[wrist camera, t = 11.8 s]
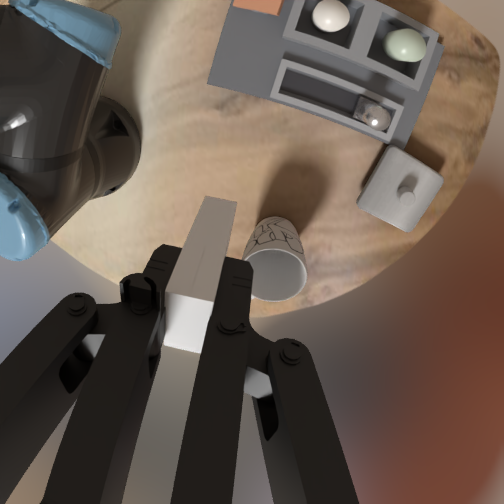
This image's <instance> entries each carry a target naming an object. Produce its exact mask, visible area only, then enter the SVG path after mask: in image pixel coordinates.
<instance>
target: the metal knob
mask: <svg viewBox="0 0 504 504" xmlns="http://www.w3.org/2000/svg"><path fill="white" fill-rule="evenodd" d="M381 106H382V105H380V104H378V103H375V102H373V101H371V100H369V99H366V98H364V97H362V96H359V95H358V98H357V100H356V103H355V106H354V108H353V111H352V113H351V116H352V117H354V118H356V119H359V120H361V121H363V122H365V123H366V124H367V125H369V126H370V127H371V128H372V129H374V130H376V131H382V130H385V129H386V128H387V127H388V126H389V124H390V121H391V118H390V114H389V113H388V111H387V110H386V109H384V108H382V107H381Z"/></svg>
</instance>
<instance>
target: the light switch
mask: <svg viewBox="0 0 504 504" xmlns="http://www.w3.org/2000/svg"><path fill="white" fill-rule="evenodd" d="M443 182H444V179H443V177H442V176H441V175H440V174H439V173H437V172H436V171H434V170H433V169H432V168H430V167H429V166H427V165H425V164H424V163H422V162H421V161H419V160H418V159H416V158H414V157H413V156H411V155H410V154H408V153H406V152H405V151H403V150H401V149H400V148H398V147H396V146H395V145H389V146H387V148H386V150H385V152H384V153H383V155H382V157H381V159H380V160H379V162H378V164H377V166H376V168H375V169H374V171H373V173H372V175H371V176H370V178H369V180H368V181H367V183H366V185H365V187H364V188H363V190H362V192H361V193H360V195H359V197H358V199H357V201H356V203H357V206H358V207H359V208H360V209H362V210H364V211H366V212H368V213H370V214H372V215H374V216H376V217H378V218H380V219H382V220H384V221H386V222H388V223H390V224H392V225H394V226H395V227H397V228H399V229H401V230H403V231H405V232H410V231H412V230H413V229H414V227H415V226H416V224H417V223H418V221H419V220H420V218H421V217H422V215H423V214H424V212H425V211H426V209H427V208H428V206H429V205H430V203H431V202H432V200H433V199H434V197H435V195H436V194H437V192H438V191H439V189H440V187H441V186H442V184H443Z"/></svg>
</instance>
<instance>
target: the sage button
mask: <svg viewBox="0 0 504 504" xmlns="http://www.w3.org/2000/svg"><path fill="white" fill-rule="evenodd" d="M382 46H383V49H384V51H385V53H386V54H387V55H388V56H389V57H390V58H392V59H394V60H397V61H409V62H416V61H419V60H421V59H422V58H423V57H424V55H425V53H426V43H425V41H424V39H423V37H422V36H421V35H420V34H419V33H418V32H417V31H415V30H412V29H401V30H395V31H391V32H388V33H387V34H386V35H385V36H384V38H383V41H382Z"/></svg>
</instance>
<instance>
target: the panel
mask: <svg viewBox="0 0 504 504" xmlns="http://www.w3.org/2000/svg"><path fill="white" fill-rule="evenodd" d="M321 1H323V0H284V3H283V6H282V9H281V12H280V15H279V16H276V15H272V14H268V13H263V12H260V13H258V12H254V11H253V10H249V9H243V8H238V7H235V6H233V2H234V0H232V1H231V4H230V7H229V10H228V13H227V16H226V20H225V23H224V26H223V29H222V32H221V36H220V39H219V43H218V46H217V49H216V53H215V56H214V60H213V63H212V67H211V71H210V74H209V78H208V82H207V84H209V85H213V86H218V87H222V88H226V89H230V90H234V91H238V92H242V93H245V94H249V95H253V96H256V97H260V98H263V99H267V100H270V101H274V102H277V103H280V104H283V105H286V106H290V107H293V108H296V109H299V110H302V111H305V112H308V113H311V114H313V115H316V116H319V117H322V118H325V119H327V120H330V121H333V122H335V123H338V124H341V125H343V126H346V127H348V128H351V129H353V130H356V131H358V132H361V133H363V134H365V135H368V136H370V137H373V138H375V139H377V140H379V141H382V142H384V143H386V144H388V145H395V146H396V147H398V148H400V149H401V150H403V151H404V148H405V146H406V144H407V142H408V139H409V137H410V135H411V132H412V130H413V128H414V125H415V123H416V121H417V118H418V116H419V113H420V111H421V108H422V106H423V104H424V101H425V99H426V96H427V93H428V91H429V88H430V86H431V83H432V80H433V78H434V75H435V72H436V70H437V67H438V64H439V61H440V59H441V56H442V53H443V50H444V47H445V46H443V45H441V44H440V43H438V42H437V40H438V37H439V33H437V32H435V31H434V30H432V29H430V28H429V27H427V26H425V25H423V24H422V23H420V22H418V21H416V20H414V19H412V18H411V17H409V16H407V15H405V14H403V13H401V12H399V11H397V10H395V9H393V8H391V7H389V6H387V5H385V4H383V3H380V2H378V1H376V0H337V1H340V2H341V3H343V4H344V5H345V6H346V7H347V9H348V11H349V14H350V19H349V22H348V24H347V25H346V26H345V27H344V28H342V29H340V30H338V31H336V32H333V33H324V32H321V31H319V30H317V29H316V28H315V27H314V25H313V24H312V21H311V14H312V12H313V10H314V9H315V7H316V6H317V4H318V3H319V2H321ZM401 29H412V30H415V31H417V32H418V33H419V34H420V35H421V36H422V37H423V39H424V41H425V43H426V53H425V55H424V57H423V58H422V59H421V60H419V61H416V62H409V61H397V60H394V59H392V58H390V57H389V56H388V55H387V54H386V53H385V51H384V49H383V46H382V41H383V38H384V36H385V35H386V34H387V33H388V32H391V31H395V30H401ZM358 95H359V96H362V97H364V98H366V99H369V100H371V101H373V102H375V103H378V104H380V105H382V106H381V107H382V108H384V109H386V110H387V111H388V113H389V114H390V118H391V121H390V124H389V126H388V127H387V128H386V129H385V130H382V131H376V130H374V129H372V128H371V127H370V126H369V125H367V124H366V123H365V122H363V121H361V120H359V119H356V118H354V117H352V116H351V113H352V111H353V108H354V106H355V103H356V100H357V98H358Z"/></svg>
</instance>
